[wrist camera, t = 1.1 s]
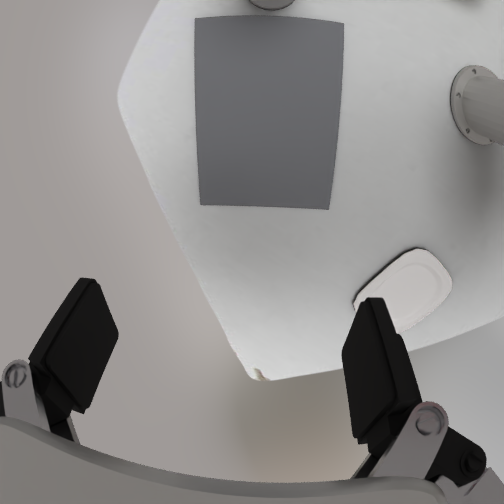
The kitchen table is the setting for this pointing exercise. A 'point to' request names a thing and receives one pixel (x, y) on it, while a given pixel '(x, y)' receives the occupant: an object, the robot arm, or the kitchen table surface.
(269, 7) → the travel mug
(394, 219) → the kitchen table surface
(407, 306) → the plate
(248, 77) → the mat
